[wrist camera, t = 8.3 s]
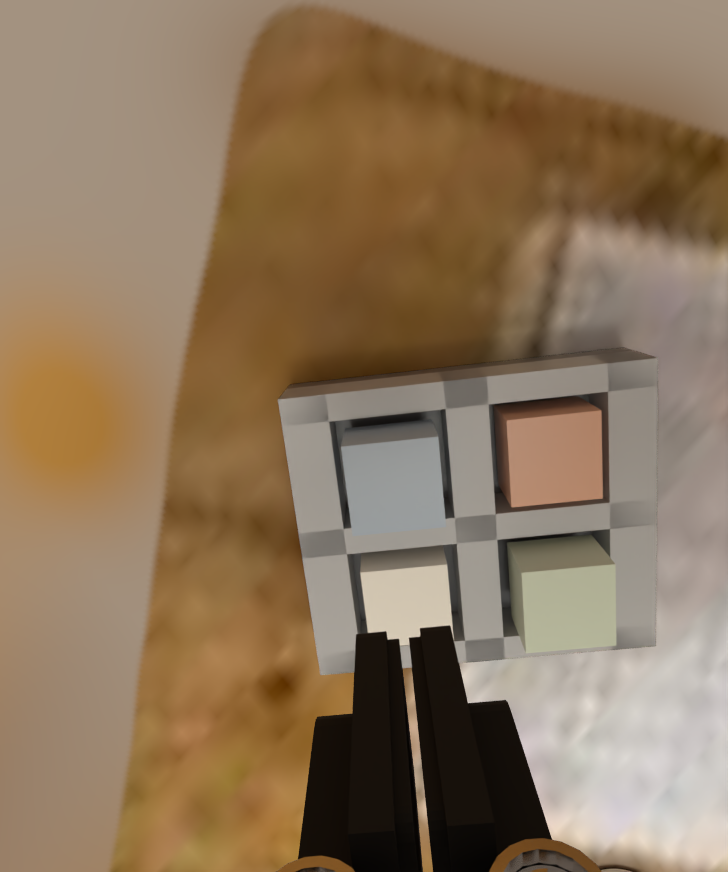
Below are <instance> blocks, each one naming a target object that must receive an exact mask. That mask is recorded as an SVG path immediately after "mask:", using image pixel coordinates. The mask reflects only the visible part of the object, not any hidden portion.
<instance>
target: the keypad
mask: <svg viewBox="0 0 728 872" xmlns="http://www.w3.org/2000/svg"><path fill="white" fill-rule="evenodd" d="M576 396H579V397H581V398H582V399H584V400H585V401H587V402H589V403H590V404H592V405H594V406H595V407H597V408H598V409H600V410H601V413H602V476H603V499H593V500H583V501H572V502H562V503H552V504H542V505H532V506H522V507H511V506H510V504H509V502H508V500H507V499H506V497H505V495H504V493H503V492H502V490H501V488H500V486H499V485H498V470H497V454H496V438H495V422H494V406H493V405H502V404H511V403H520V402H530V401H539V400H548V399H558V398H567V397H576ZM278 403H279V410H280V416H281V423H282V429H283V436H284V442H285V449H286V455H287V462H288V468H289V475H290V481H291V487H292V494H293V500H294V507H295V513H296V520H297V526H298V533H299V539H300V546H301V552H302V559H303V565H304V572H305V578H306V584H307V591H308V597H309V604H310V610H311V617H312V623H313V630H314V636H315V643H316V649H317V656H318V662H319V668H320V675H328V674H340V673H351V672H354V668H355V644H356V634H362V633H368V629H367V621H366V613H365V606H364V598H363V590H362V582H361V575H360V568H361V553H366V552H376V551H386V550H397V549H407V548H418V547H428V546H438V545H443V549H444V553H445V557H446V562H447V568H448V580H449V591H450V602H451V614H452V625H453V636H454V644H455V648H456V653H457V657H458V662H459V663H467V662H479V661H490V660H502V659H513V658H525V657H537V656H548V655H560V654H571V653H583V652H595V651H606V650H618V649H629V648H641V647H653V646H656V557H657V436H658V358H657V357H654V356H650V355H647V354H644V353H640V352H637V351H634V350H630V349H627V348H615V349H606V350H597V351H588V352H579V353H570V354H561V355H552V356H543V357H534V358H525V359H516V360H507V361H498V362H489V363H480V364H471V365H462V366H453V367H444V368H435V369H426V370H417V371H408V372H399V373H390V374H381V375H372V376H363V377H354V378H345V379H335V380H326V381H317V382H308V383H299V384H290V385H289V386H288V388H287V389H286V390H285V391H284V393H283V394H282V395H281V396H280V398H279V399H278ZM428 419H432V421H433V424H434V426H435V429H436V432H437V435H438V439H439V451H440V462H441V474H442V485H443V497H444V508H445V520H446V527H442V528H432V529H421V530H411V531H401V532H391V533H380V534H370V535H360V536H352V528H351V520H350V513H349V505H348V497H347V490H346V482H345V474H344V466H343V459H342V451H341V444H342V439H343V435H344V430H345V428H354V427H363V426H372V425H382V424H391V423H400V422H410V421H419V420H428ZM581 535H592V536H593V537H594V538H595V540H596V541H597V542H598V543H599V545H600V546H601V547H602V548H603V549H604V551H605V552H606V553H607V554H608V556H609V557H610V558H611V559H612V560H613V562H614V563H615V564H616V646H606V647H594V648H583V649H571V650H559V651H548V652H536V653H526V652H525V650H524V647H523V645H522V642H521V639H520V637H519V634H518V632H517V629H516V627H515V624H514V621H513V619H512V616H511V600H510V583H509V566H508V550H507V543H508V542H519V541H529V540H539V539H550V538H560V537H571V536H581ZM400 651H401V660H402V668H409V667H412V664H411V654H410V645H403V646H400Z"/></svg>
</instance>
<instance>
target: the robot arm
mask: <svg viewBox="0 0 728 872" xmlns="http://www.w3.org/2000/svg"><path fill="white" fill-rule="evenodd" d="M409 644H410V654H411V664H412V673H413V683H414V693H415V702H416V712H417V721H418V731H419V741H420V750H421V760H422V770H423V779H424V789H425V798H426V808H427V818H428V827H429V836H430V846H431V855H432V864H433V872H602V871H601V870H600V869H599V867H598V866H597V865H596V863H594V862H593V861H592V860H591V859H590V858H588V857H587V856H586V855H585V854H583V853H582V852H581V851H580V850H578V849H576V848H574V847H572V846H569V845H567V844H565V843H563V842H560V841H555V840H552V838H551V835H550V832H549V829H548V826H547V823H546V820H545V816H544V813H543V810H542V807H541V804H540V801H539V798H538V794H537V791H536V788H535V785H534V782H533V779H532V776H531V773H530V769H529V766H528V763H527V760H526V757H525V754H524V751H523V747H522V744H521V741H520V738H519V735H518V732H517V729H516V725H515V722H514V719H513V716H512V713H511V710H510V707H509V705H508V702H507V701H506V700H501V701H490V702H479V703H468V702H467V697H466V693H465V689H464V684H463V680H462V675H461V671H460V666H459V662H458V657H457V653H456V648H455V644H454V640H453V635H452V631H451V627H450V625H448V626H437V627H426V628H420V637H411V638H409ZM276 872H423V868H422V857H421V845H420V833H419V822H418V810H417V799H416V787H415V777H414V767H413V758H412V749H411V740H410V731H409V722H408V713H407V704H406V695H405V686H404V677H403V669H402V660H401V651H400V642H399V639H389V640H388V639H387V632H386V631H384V632H373V633H362V634H356V644H355V668H354V693H353V714H344V715H332V716H321V717H317V719H316V722H315V727H314V735H313V743H312V751H311V759H310V767H309V775H308V783H307V792H306V800H305V808H304V816H303V824H302V832H301V840H300V848H299V856H298V860H296V861H293V862H290V863H288V864H286V865H285V866H283V867H282V868H281V869H279V870H278V871H276Z"/></svg>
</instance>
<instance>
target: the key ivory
mask: <svg viewBox="0 0 728 872" xmlns="http://www.w3.org/2000/svg"><path fill="white" fill-rule="evenodd" d="M360 575H361V582H362V590H363V598H364V606H365V613H366V621H367V629H368V633H373V632H384V631H386V632H387V639H388V640H389V639H399V642H400V646H403V645H410V644H409V638H411V637H420V628H426V627H437V626H448V625H450V627H451V631H452V635H453V625H452V614H451V602H450V591H449V580H448V568H447V562H446V557H445V553H444V549H443V545H438V546H428V547H418V548H407V549H397V550H386V551H376V552H366V553H361V568H360ZM453 640H454V636H453Z"/></svg>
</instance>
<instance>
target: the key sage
mask: <svg viewBox="0 0 728 872" xmlns="http://www.w3.org/2000/svg"><path fill="white" fill-rule="evenodd" d="M507 550H508V566H509V583H510V600H511V616H512V619H513V621H514V624H515V627H516V629H517V632H518V634H519V637H520V639H521V642H522V645H523V647H524V650H525V652H526V653H536V652H548V651H559V650H571V649H583V648H594V647H606V646H616V564H615V563H614V562H613V560H612V559H611V558H610V557H609V556H608V554H607V553H606V552H605V551H604V549H603V548H602V547H601V546H600V545H599V543H598V542H597V541H596V540H595V538H594V537H593V536H592V535H581V536H571V537H560V538H550V539H539V540H529V541H519V542H508V543H507Z"/></svg>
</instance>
